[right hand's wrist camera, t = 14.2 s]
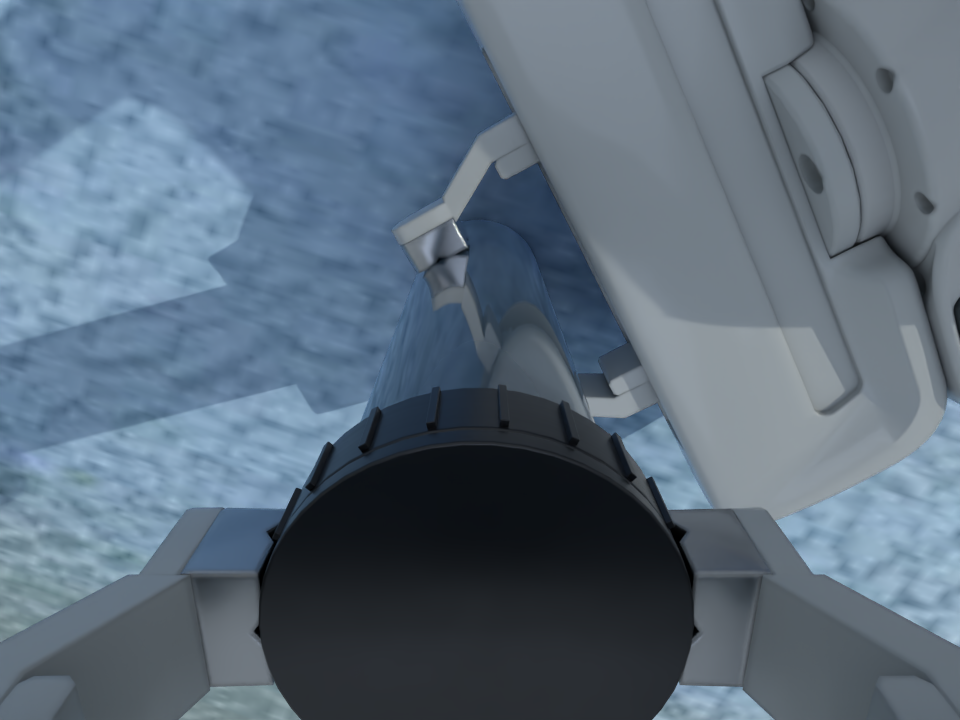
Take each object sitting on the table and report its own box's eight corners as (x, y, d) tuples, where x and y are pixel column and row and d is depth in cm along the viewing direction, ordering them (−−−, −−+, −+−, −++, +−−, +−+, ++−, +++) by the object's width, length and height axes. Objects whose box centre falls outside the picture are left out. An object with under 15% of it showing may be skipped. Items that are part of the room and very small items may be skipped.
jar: (546, 226, 25) (682, 469, 8) (530, 341, 27) (616, 744, 10) (423, 212, 25) (307, 434, 8) (414, 329, 27) (301, 719, 10)
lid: (417, 304, 9) (404, 345, 7) (745, 512, 10) (794, 587, 8) (222, 598, 10) (177, 683, 9) (522, 750, 11) (529, 848, 10)
